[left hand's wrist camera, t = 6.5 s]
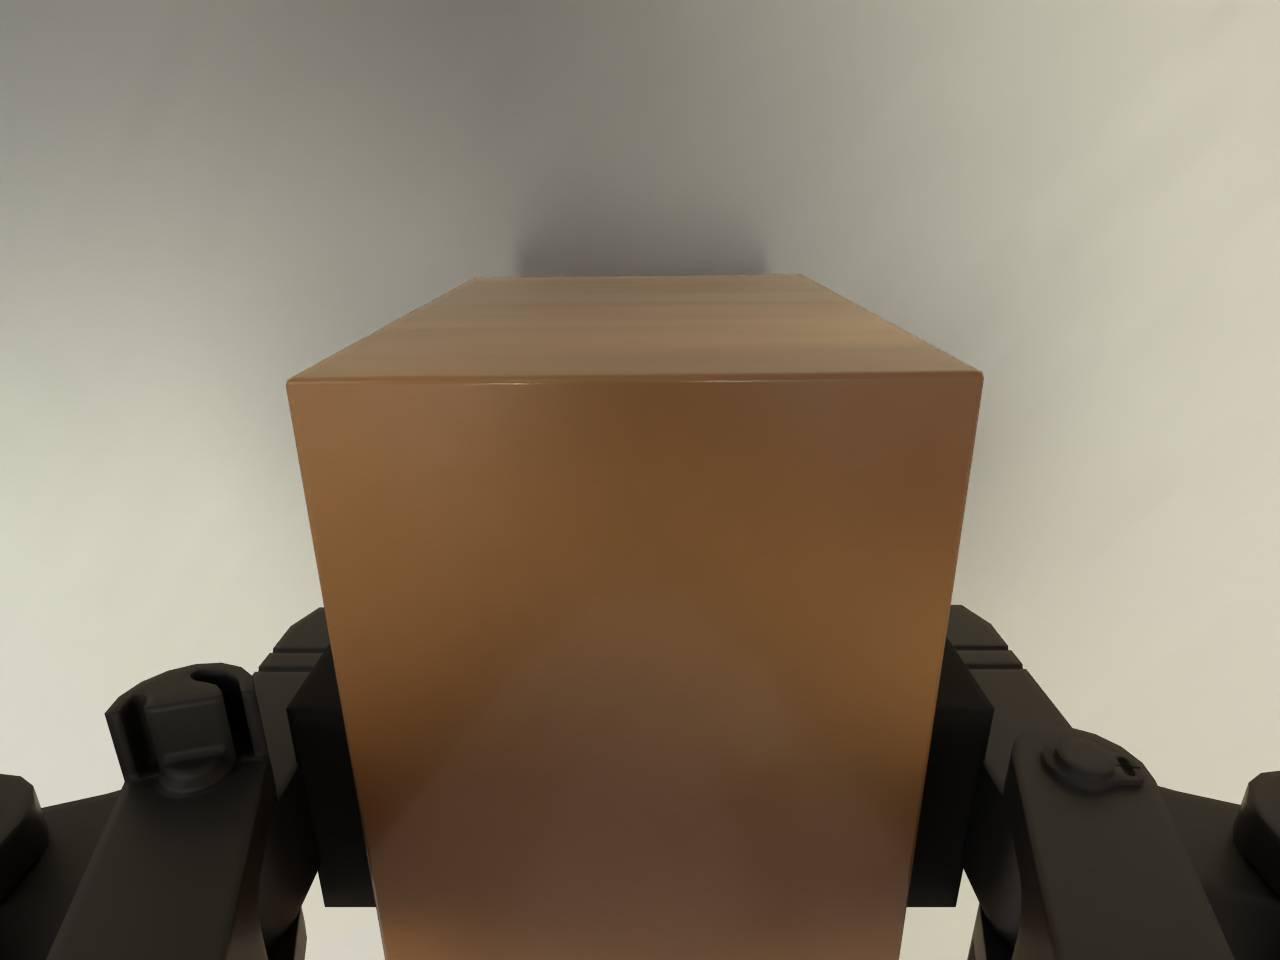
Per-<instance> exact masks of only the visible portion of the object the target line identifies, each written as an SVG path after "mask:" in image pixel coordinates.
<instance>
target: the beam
mask: <svg viewBox="0 0 1280 960" xmlns="http://www.w3.org/2000/svg"><path fill="white" fill-rule="evenodd" d="M983 380H984V377H983V373H982V372H981V371H979V370H977V369H975V368H973V367H971V366H969V365H968V364H966V363H964V362H962V361H960V360H958V359H956V358H955V357H953V356H951V355H949V354H947V353H945V352H944V351H942V350H940V349H938V348H936V347H934V346H932V345H931V344H929V343H927V342H925V341H923V340H921V339H919V338H918V337H916V336H914V335H912V334H910V333H908V332H907V331H905V330H903V329H901V328H899V327H897V326H895V325H894V324H892V323H890V322H888V321H886V320H884V319H882V318H881V317H879V316H877V315H875V314H873V313H871V312H870V311H868V310H866V309H864V308H862V307H860V306H858V305H857V304H855V303H853V302H851V301H849V300H847V299H845V298H844V297H842V296H840V295H838V294H836V293H834V292H833V291H831V290H829V289H827V288H825V287H823V286H821V285H820V284H818V283H816V282H814V281H812V280H810V279H808V278H807V277H805V276H803V275H801V274H776V275H685V276H594V277H502V278H473V279H471V280H470V281H468V282H466V283H464V284H462V285H460V286H458V287H457V288H455V289H453V290H451V291H449V292H447V293H446V294H444V295H442V296H440V297H438V298H436V299H435V300H433V301H431V302H429V303H427V304H425V305H424V306H422V307H420V308H418V309H416V310H414V311H413V312H411V313H409V314H407V315H405V316H403V317H402V318H400V319H398V320H396V321H394V322H392V323H391V324H389V325H387V326H385V327H383V328H381V329H380V330H378V331H376V332H374V333H372V334H370V335H368V336H367V337H365V338H363V339H361V340H359V341H357V342H356V343H354V344H352V345H350V346H348V347H346V348H345V349H343V350H341V351H339V352H337V353H335V354H334V355H332V356H330V357H328V358H326V359H324V360H323V361H321V362H319V363H317V364H315V365H313V366H312V367H310V368H308V369H306V370H304V371H302V372H301V373H299V374H297V375H295V376H293V377H291V378H289V379H288V380H287V383H286V389H287V395H288V401H289V406H290V412H291V418H292V424H293V429H294V435H295V441H296V447H297V452H298V458H299V464H300V470H301V476H302V481H303V487H304V493H305V499H306V504H307V510H308V516H309V522H310V528H311V533H312V539H313V545H314V551H315V556H316V562H317V568H318V574H319V580H320V585H321V591H322V597H323V603H324V608H325V614H326V620H327V626H328V632H329V637H330V643H331V649H332V655H333V660H334V666H335V672H336V678H337V683H338V689H339V695H340V701H341V707H342V712H343V718H344V724H345V730H346V735H347V741H348V747H349V753H350V759H351V764H352V770H353V776H354V782H355V787H356V793H357V799H358V805H359V811H360V816H361V822H362V828H363V834H364V839H365V845H366V851H367V857H368V862H369V868H370V874H371V880H372V886H373V891H374V897H375V903H376V909H377V914H378V920H379V926H380V932H381V938H382V943H383V949H384V955H385V960H899V955H900V948H901V941H902V934H903V927H904V920H905V914H906V907H907V900H908V893H909V886H910V879H911V872H912V866H913V859H914V852H915V845H916V838H917V831H918V825H919V818H920V811H921V804H922V797H923V790H924V783H925V777H926V770H927V763H928V756H929V749H930V742H931V736H932V729H933V722H934V715H935V708H936V701H937V694H938V688H939V681H940V674H941V667H942V660H943V653H944V647H945V640H946V633H947V626H948V619H949V612H950V606H951V599H952V592H953V585H954V578H955V571H956V564H957V558H958V551H959V544H960V537H961V530H962V523H963V517H964V510H965V503H966V496H967V489H968V482H969V475H970V469H971V462H972V455H973V448H974V441H975V434H976V428H977V421H978V414H979V407H980V400H981V393H982V386H983Z"/></svg>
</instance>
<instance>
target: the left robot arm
mask: <svg viewBox="0 0 1280 960" xmlns="http://www.w3.org/2000/svg"><path fill="white" fill-rule="evenodd" d="M105 717H106V720H107V723H108V727H109V730H110V733H111V737H112V740H113V744H114V747H115V750H116V754H117V757H118V760H119V764H120V767H121V770H122V774H123V777H124V780H125V783H124V785H123V787H122V789H121V790H119V791H115V792H112V793H108V794H104V795H100V796H95V797H90V798H86V799H81V800H77V801H72V802H67V803H63V804H58V805H54V806H49V807H44V808H41V807H40V804H39V801H38V798H37V795H36V793H35V790H34V787H33V785H31V784H30V783H29V782H27V781H26V780H25V779H24V778H22V777H21V776H13V775H5V774H0V960H304V959H305V950H306V942H307V936H306V929H305V922H304V917H303V912H302V907H301V906H302V904H303V901H304V899H305V897H306V895H307V893H308V891H309V889H310V886H311V884H312V882H313V880H314V878H315V876H316V873H317V871H318V874H319V879H320V884H321V889H322V894H323V899H324V905H325V907H376V903H375V897H374V891H373V886H372V880H371V874H370V868H369V862H368V857H367V851H366V845H365V839H364V834H363V828H362V822H361V816H360V811H359V805H358V799H357V793H356V787H355V782H354V776H353V770H352V764H351V759H350V753H349V747H348V741H347V735H346V730H345V724H344V718H343V712H342V707H341V701H340V695H339V689H338V683H337V678H336V672H335V666H334V660H333V655H332V649H331V643H330V637H329V632H328V626H327V620H326V614H325V608H318V609H316V610H315V611H313V612H312V613H310V614H309V615H307V616H306V617H304V618H303V619H301V620H300V621H298V622H297V623H295V624H294V625H292V626H291V627H290V628H289V629H288V630H287V632H286V633H285V634H284V635H283V637H282V638H281V639H280V641H279V642H278V643H277V644H276V646H275V647H274V648H273V653H269V655H268V656H267V657H266V659H265V660H264V661H263V662H262V664H261V665H260V666H259V671H258V672H255V673H254V674H253V675H250V674H249V673H248V672H247V671H245V670H244V669H243V668H242V667H238V666H234V665H229V664H224V663H209V664H195V665H190V666H186V667H182V668H178V669H174V670H169V671H166V672H164V673H162V674H159V675H157V676H155V677H152V678H150V679H148V680H145V681H143V682H141V683H139V684H138V685H136V686H135V687H133V688H132V689H130V690H129V691H127V692H126V693H124V694H123V695H121V696H120V697H118V698H117V700H116V701H115V702H114V703H113V704H112V705H111V707H110V708H109V709H108V710H107V711H106V712H105ZM963 868H964V870H965V873H966V875H967V877H968V879H969V881H970V883H971V885H972V887H973V890H974V892H975V894H976V896H977V898H978V900H979V907H978V912H977V917H976V921H975V926H974V931H973V935H972V940H971V945H970V950H969V954H968V959H967V960H1280V771H1275V772H1266V773H1261V774H1259V775H1258V776H1257V777H1255V778H1254V779H1253V780H1252V781H1250V782H1249V784H1248V786H1247V789H1246V792H1245V795H1244V798H1243V801H1242V803H1241V805H1238V804H1234V803H1229V802H1224V801H1220V800H1215V799H1210V798H1206V797H1201V796H1197V795H1192V794H1187V793H1183V792H1178V791H1174V790H1170V789H1167V788H1163V787H1160V786H1157V783H1156V781H1155V780H1154V778H1153V777H1152V775H1151V774H1150V773H1149V771H1148V770H1147V769H1146V767H1145V766H1144V765H1143V763H1142V762H1141V761H1139V760H1138V759H1137V758H1135V757H1134V756H1133V755H1131V754H1130V753H1129V752H1127V751H1126V750H1125V749H1124V748H1122V747H1121V746H1119V745H1117V744H1115V743H1112V742H1110V741H1108V740H1106V739H1104V738H1102V737H1100V736H1098V735H1096V734H1093V733H1089V732H1085V731H1081V730H1078V729H1074V728H1072V727H1071V726H1070V724H1069V723H1068V722H1067V721H1066V719H1065V718H1064V717H1063V715H1062V714H1061V713H1060V712H1059V710H1058V709H1057V708H1056V707H1055V705H1054V704H1053V703H1052V701H1051V700H1050V699H1049V698H1048V696H1047V695H1046V694H1045V693H1044V691H1043V690H1042V689H1041V687H1040V686H1039V685H1038V684H1037V682H1036V681H1035V680H1034V679H1033V677H1032V676H1031V675H1030V673H1029V672H1028V671H1027V670H1026V669H1023V667H1022V663H1021V662H1020V661H1019V659H1018V658H1017V657H1016V656H1015V654H1014V653H1013V652H1012V651H1011V650H1008V645H1007V644H1006V643H1005V642H1004V640H1003V639H1002V638H1001V637H1000V635H999V634H998V633H997V631H996V630H995V629H994V628H993V626H992V625H991V624H990V623H988V622H987V621H985V620H984V619H982V618H981V617H979V616H978V615H976V614H975V613H973V612H971V611H970V610H968V609H967V608H965V607H964V606H962V605H951V606H950V612H949V619H948V626H947V633H946V640H945V647H944V653H943V660H942V667H941V674H940V681H939V688H938V694H937V701H936V708H935V715H934V722H933V729H932V736H931V742H930V749H929V756H928V763H927V770H926V777H925V783H924V790H923V797H922V804H921V811H920V818H919V825H918V831H917V838H916V845H915V852H914V859H913V866H912V872H911V879H910V886H909V893H908V900H907V907H956V903H957V897H958V892H959V887H960V882H961V877H962V872H963Z"/></svg>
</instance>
